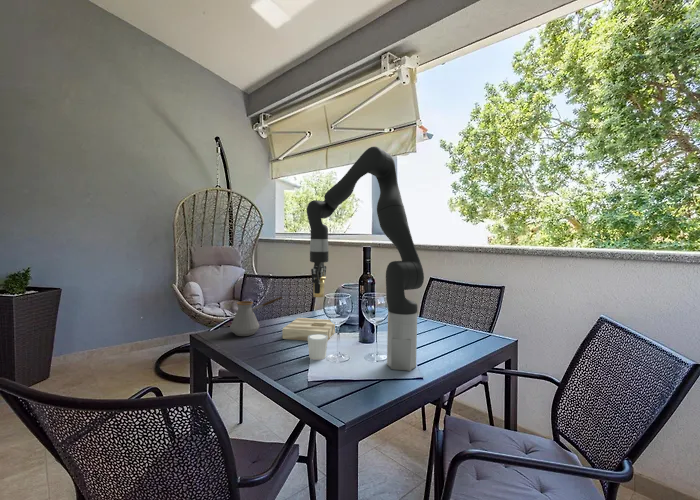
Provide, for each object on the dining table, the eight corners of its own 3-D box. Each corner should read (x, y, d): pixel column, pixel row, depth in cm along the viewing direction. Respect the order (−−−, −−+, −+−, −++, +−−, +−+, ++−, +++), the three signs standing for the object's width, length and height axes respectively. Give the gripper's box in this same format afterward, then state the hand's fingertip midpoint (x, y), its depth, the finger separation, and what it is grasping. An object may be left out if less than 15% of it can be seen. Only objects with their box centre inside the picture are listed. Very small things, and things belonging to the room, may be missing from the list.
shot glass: (309, 361, 113) (309, 340, 113) (305, 354, 120) (306, 334, 120) (329, 359, 115) (329, 338, 115) (325, 352, 122) (325, 332, 121)
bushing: (323, 298, 139) (324, 278, 139) (309, 297, 140) (310, 277, 140) (327, 295, 145) (327, 276, 144) (314, 294, 146) (314, 275, 146)
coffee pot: (227, 338, 137) (227, 300, 136) (232, 330, 148) (232, 295, 147) (283, 336, 140) (283, 299, 140) (283, 328, 152) (284, 294, 151)
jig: (326, 342, 133) (327, 331, 133) (282, 338, 137) (282, 328, 137) (337, 329, 151) (337, 320, 151) (298, 326, 155) (298, 317, 154)
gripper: (323, 251, 134) (323, 295, 135) (332, 249, 148) (332, 289, 149) (304, 251, 135) (304, 294, 136) (315, 249, 149) (315, 289, 150)
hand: (318, 292), depth 143 cm, fingers closed on bushing, 4 cm apart
